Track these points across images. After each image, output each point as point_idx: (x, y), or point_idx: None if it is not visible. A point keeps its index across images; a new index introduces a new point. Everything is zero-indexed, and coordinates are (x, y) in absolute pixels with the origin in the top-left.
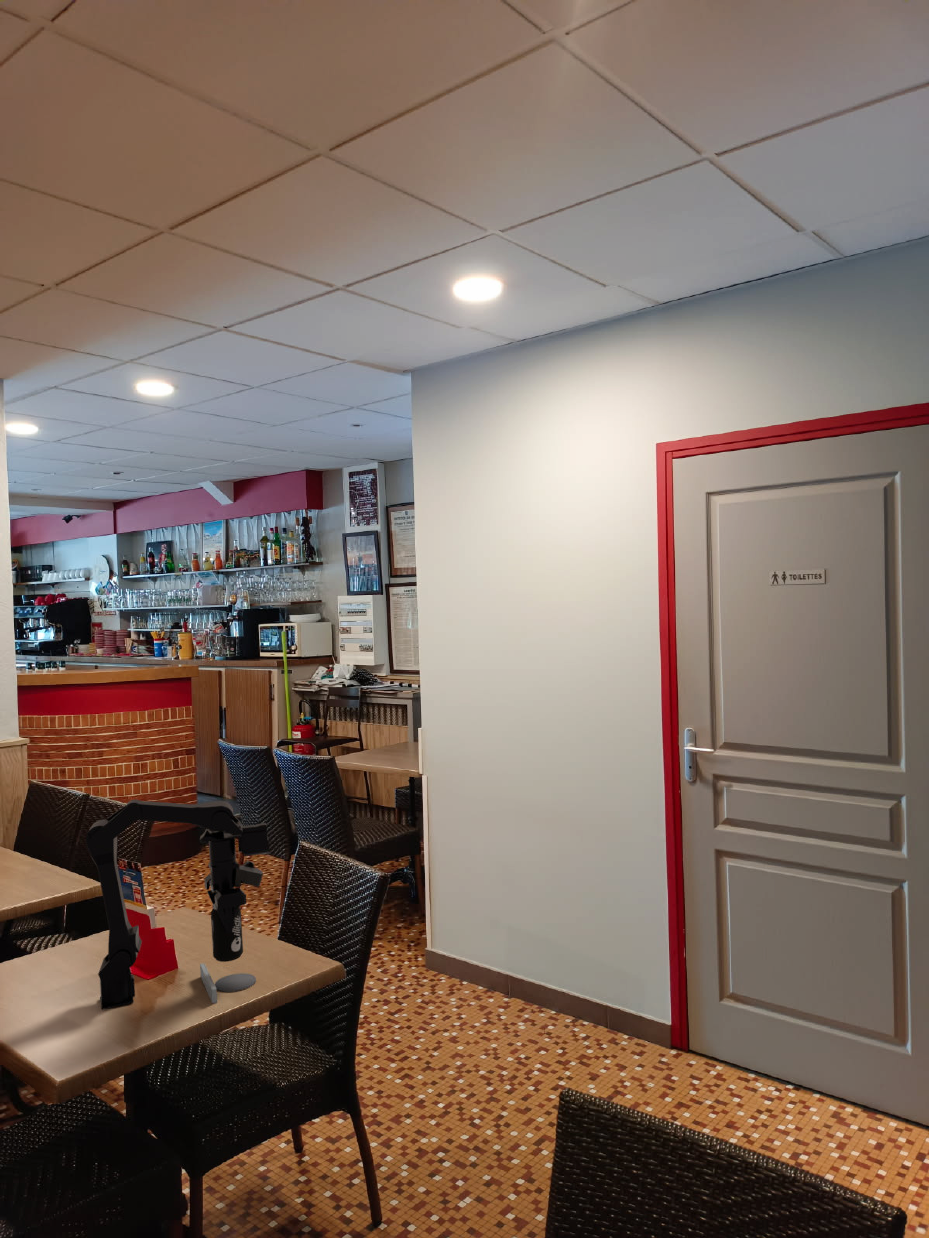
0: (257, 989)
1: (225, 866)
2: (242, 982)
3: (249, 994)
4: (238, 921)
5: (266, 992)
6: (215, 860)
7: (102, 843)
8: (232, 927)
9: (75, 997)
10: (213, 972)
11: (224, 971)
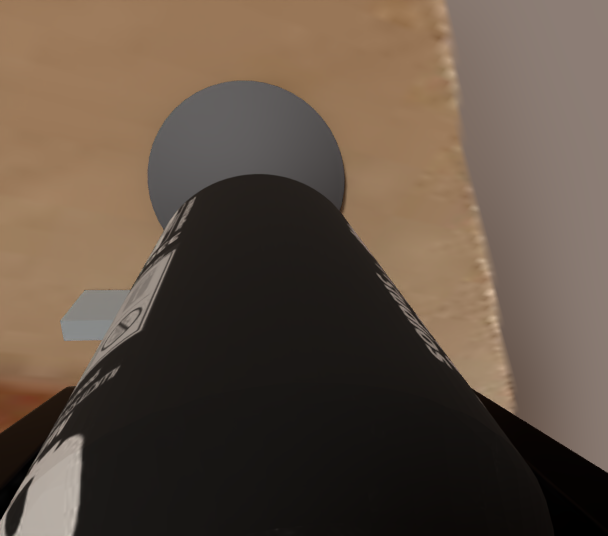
0: (379, 110)
1: None
2: (278, 159)
3: (407, 159)
4: (437, 344)
5: (439, 80)
6: None
7: None
8: (488, 402)
9: None
10: (55, 249)
11: (65, 200)
